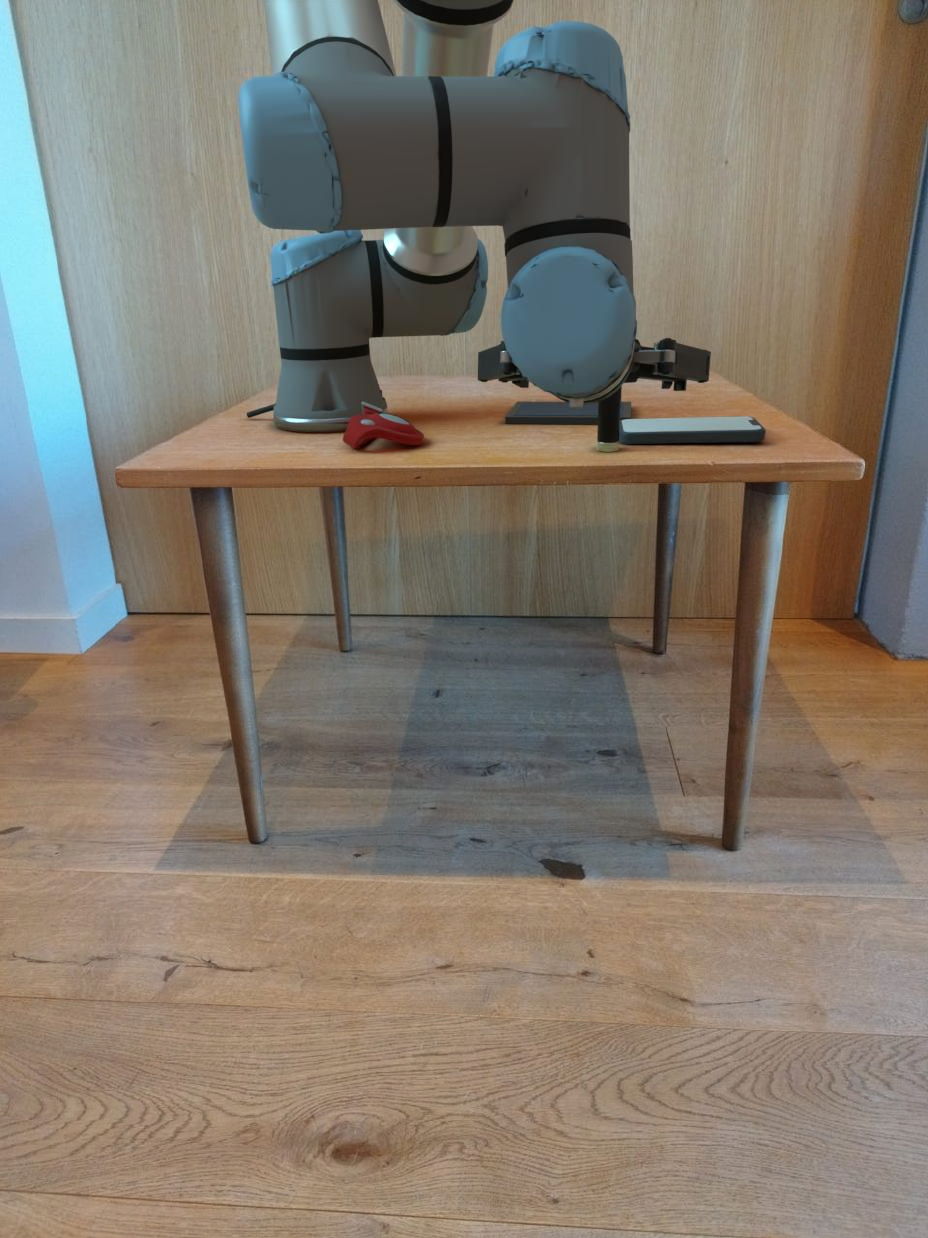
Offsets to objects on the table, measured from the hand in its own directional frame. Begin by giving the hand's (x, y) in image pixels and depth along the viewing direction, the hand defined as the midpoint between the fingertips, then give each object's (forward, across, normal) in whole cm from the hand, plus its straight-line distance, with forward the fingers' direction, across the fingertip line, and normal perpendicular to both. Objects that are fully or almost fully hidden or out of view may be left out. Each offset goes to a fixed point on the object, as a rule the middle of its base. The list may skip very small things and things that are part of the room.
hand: (594, 373), depth 80 cm
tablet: (+30, -4, -3) cm, 31 cm away
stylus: (+10, +1, -7) cm, 12 cm away
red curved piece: (+13, -25, -7) cm, 29 cm away
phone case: (+17, +10, -6) cm, 21 cm away
